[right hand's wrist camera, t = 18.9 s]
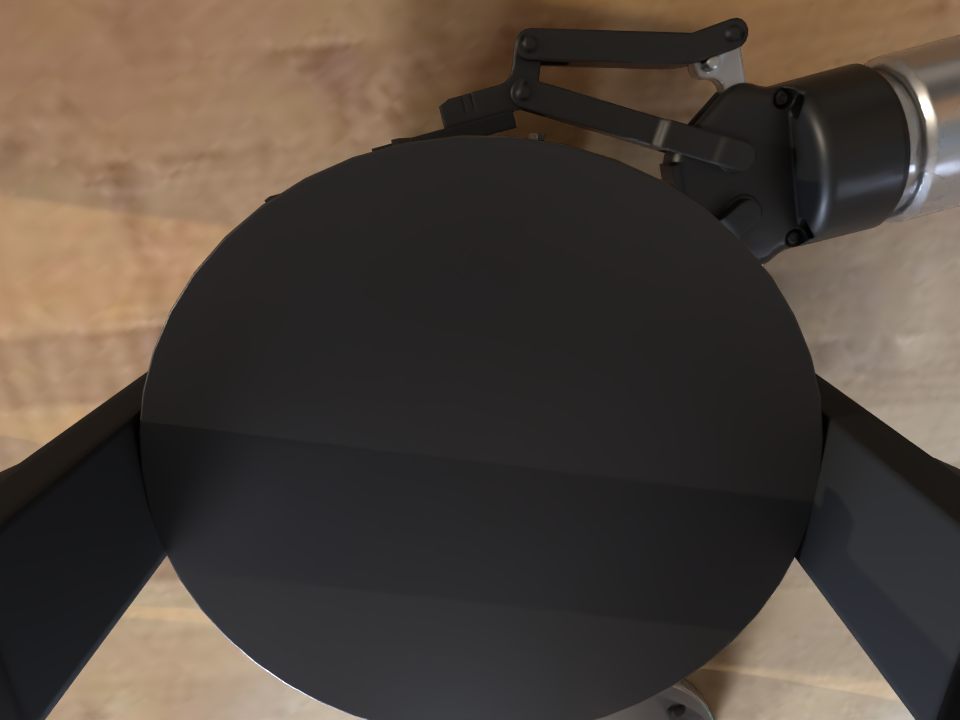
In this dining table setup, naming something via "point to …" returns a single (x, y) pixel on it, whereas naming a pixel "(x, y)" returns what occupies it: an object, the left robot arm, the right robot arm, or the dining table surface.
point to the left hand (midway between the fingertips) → (411, 264)
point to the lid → (481, 433)
